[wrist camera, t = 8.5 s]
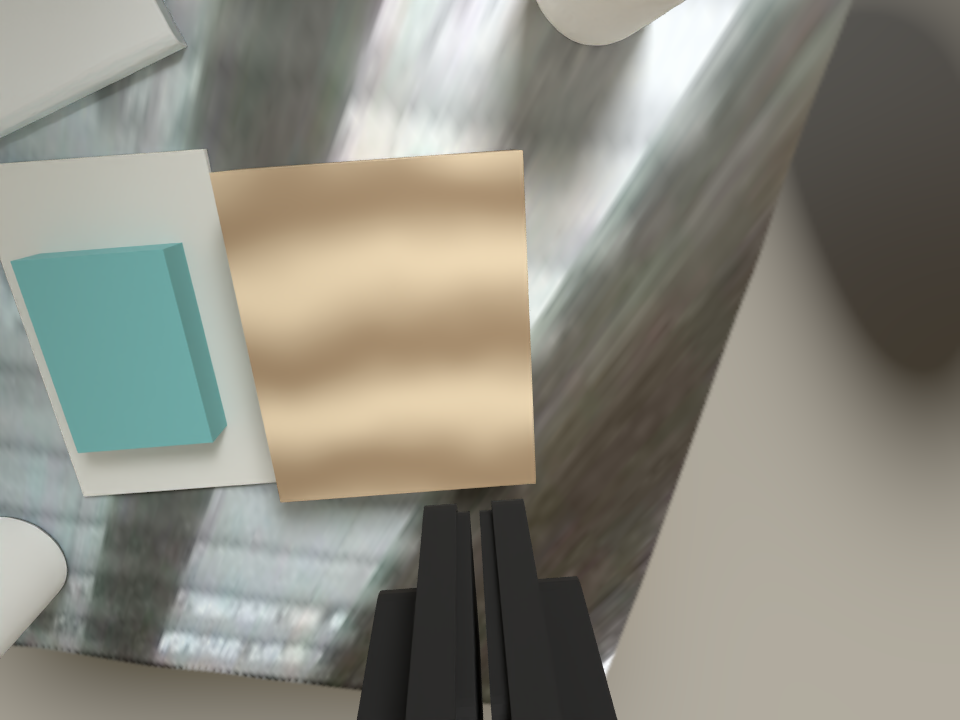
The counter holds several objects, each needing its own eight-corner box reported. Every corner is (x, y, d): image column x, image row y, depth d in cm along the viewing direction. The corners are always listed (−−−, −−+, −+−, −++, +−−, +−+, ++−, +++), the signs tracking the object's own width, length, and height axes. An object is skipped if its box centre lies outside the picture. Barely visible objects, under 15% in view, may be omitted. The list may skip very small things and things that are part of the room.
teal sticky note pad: (162, 249, 27) (182, 242, 29) (10, 261, 27) (39, 253, 29) (212, 442, 30) (227, 425, 32) (77, 453, 30) (100, 434, 32)
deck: (242, 169, 28) (209, 172, 24) (514, 149, 28) (522, 150, 24) (300, 462, 34) (280, 502, 30) (527, 445, 34) (535, 483, 30)
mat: (-28, 165, 28) (-33, 165, 27) (206, 149, 28) (203, 149, 27) (87, 493, 34) (83, 496, 34) (277, 479, 34) (276, 482, 34)
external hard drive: (193, 48, 27) (-34, 159, 28) (83, -160, 24) (-163, -27, 25) (177, 43, 25) (-62, 160, 27) (58, -180, 22) (-203, -38, 24)
